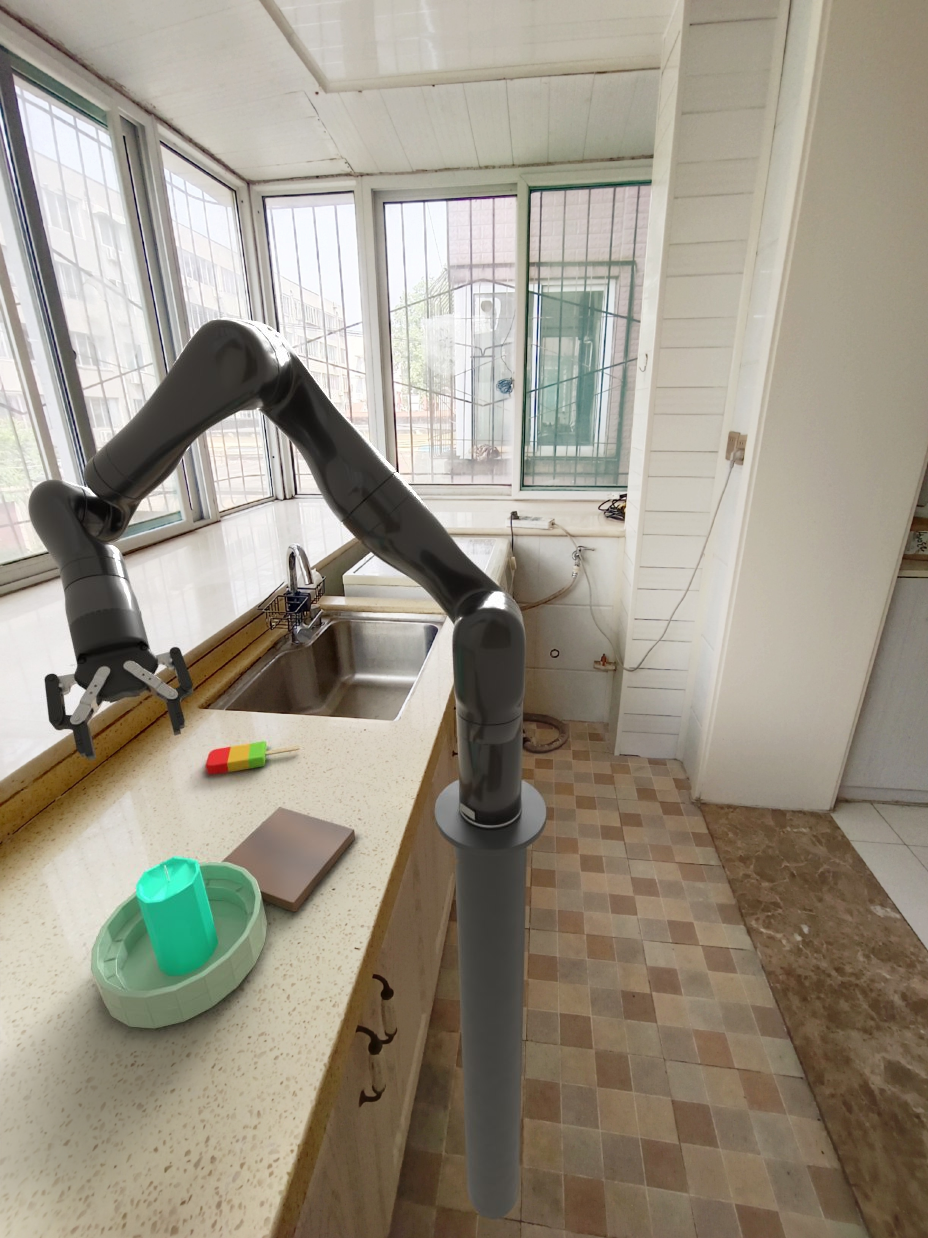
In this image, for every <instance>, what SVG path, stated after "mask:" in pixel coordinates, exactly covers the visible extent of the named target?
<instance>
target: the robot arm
mask: <svg viewBox="0 0 928 1238" xmlns="http://www.w3.org/2000/svg"><path fill="white" fill-rule="evenodd" d="M256 410H257V411H259V412H260V413H261V414H262V415H263V416H265V417H266V418H267V419H268V420H269V421H270V422H271V423H272V424H273V425H274V426H275V427H276V428H277V429H278V430H279V431H280V432H281V433H282V434H283V435H284V436H285V437H286V438H287V439H288V440H289V441H290V442H291V443H292V444H293V446H295V448H296V449H297V450H298V452H299V454H300V455H301V456H302V458H303V460H304V461H305V464H306V466H307V467H308V469H309V471H310V473H311V475H312V478H313V479H314V482H315V484H316V486H317V488H318V490H319V492H320V494H321V496H322V498H323V500H324V501H325V503H326V505H327V507H328V508H329V510H330V511H331V512H332V514H333V515H334V516H335V517H336V519H337V520H338V521H339V522H340V523H342V525H343V526H344V527H345V528H346V529H347V531H349V532H350V533H351V535H353V537H354V538H355V539H356V540H357V541H358V542H359V543H360V544H361V545H362V546H363V547H364V548H365V549H366V550H368V551H369V552H370V553H371V554H372V555H373V556H375V557H376V558H378V560H380V561H382V562H383V563H385V564H386V565H388V566H389V567H391V568H393V569H394V570H396V571H397V572H399V573H401V574H403V575H404V576H406V577H408V578H409V579H410V580H412V581H413V582H415V583H417V584H418V585H419V586H420V587H421V588H422V589H423V590H425V591H426V593H428V594H429V595H430V597H431V598H432V599H433V600H434V601H435V602H436V603H437V605H438V606H439V607H440V609H441V610H442V611H443V612H444V613H445V615H446V616H447V617H448V619H449V620H450V621H451V623H452V624H453V631H452V639H451V641H452V642H451V644H452V645H451V649H452V651H451V652H452V674H453V675H452V676H453V694H454V698H455V712H456V740H457V742H456V744H457V772H458V780H459V813H460V815H461V817H462V818H463V819H464V821H466V822H467V823H468V824H470V825H471V826H473V827H476V828H479V829H484V830H498V829H503V828H506V827H508V826H510V825H512V824H513V823H515V822H516V821H517V820H518V819H519V817H520V815H521V812H522V802H521V792H522V780H523V739H524V738H523V737H524V736H523V735H524V734H523V733H524V730H523V729H524V698H525V693H526V663H527V662H526V661H527V659H526V658H527V635H526V629H525V623H524V617H523V613H522V610H521V609H520V607H519V604H518V603H517V601H515V599H514V598H513V597H512V596H511V595H510V594H509V593H508V592H507V591H506V590H505V589H504V588H502V587H501V586H499V584H497V583H496V581H494V580H493V579H492V578H491V577H489V575H488V574H487V573H486V572H484V571H483V570H482V569H481V568H480V567H479V566H478V565H477V564H476V563H475V562H474V561H472V559H471V558H469V557H468V556H467V554H465V552H464V551H463V550H462V548H460V546H459V545H458V544H457V542H455V540H454V539H453V537H452V536H451V534H450V533H449V532H448V531H447V529H446V528H445V527H444V525H443V524H442V523H441V522H440V521H439V519H438V518H437V517H436V516H435V514H434V513H433V512H432V511H431V509H430V508H429V507H428V506H427V504H425V502H424V501H423V499H422V498H421V497H420V496H419V495H418V494H417V493H416V491H415V490H414V489H413V488H412V487H411V485H410V484H409V483H408V482H407V481H406V480H405V479H404V478H403V477H402V475H401V474H400V473H399V472H397V470H396V469H395V468H394V466H392V465H391V464H390V463H389V462H388V461H387V460H386V458H384V456H383V455H382V454H381V453H380V452H379V451H378V450H377V449H376V447H375V446H373V444H372V443H371V442H370V441H369V440H368V439H367V437H365V435H363V433H362V432H361V431H359V429H358V428H357V427H356V426H354V424H353V423H352V422H351V421H350V420H349V419H348V418H347V417H346V416H345V415H344V414H343V413H342V412H341V411H340V409H338V407H337V406H336V405H335V404H334V402H333V401H332V399H330V396H328V395H327V393H326V392H325V391H324V390H323V388H322V387H321V385H320V384H319V383H318V381H317V380H316V378H315V377H314V376H313V374H312V373H311V372H310V370H309V369H308V368H307V366H306V364H305V363H304V362H303V361H302V359H301V358H300V357H299V355H298V354H297V352H296V351H295V350H294V348H293V347H292V346H291V344H290V343H289V342H288V341H287V340H286V339H285V337H284V336H282V334H281V333H280V332H277V330H275V329H274V328H272V327H271V326H269V325H267V324H264V323H262V322H260V321H255V320H248V319H239V318H235V317H234V318H233V317H221V318H214V319H211V320H209V321H207V322H205V323H203V324H202V325H201V326H200V327H199V328H198V329H197V330H196V331H195V332H194V333H193V334H192V336H191V337H190V339H188V341H187V343H186V344H185V346H184V348H183V349H182V350H181V352H180V354H178V357H177V358H176V360H175V361H174V363H173V364H172V366H171V367H170V370H168V373H166V375H165V377H164V378H163V379H162V381H161V382H160V384H158V386H157V387H156V389H155V390H154V392H153V393H152V395H151V396H150V397H149V398H148V400H147V401H146V403H144V405H143V406H142V407H141V408H140V409H139V410H138V412H137V413H136V414H135V415H134V416H133V417H132V418H131V419H130V421H129V422H127V423H126V425H125V426H124V427H122V428H121V429H120V430H119V431H118V432H117V433H116V434H115V435H114V436H113V437H112V438H111V439H110V440H108V442H106V443H105V444H104V445H103V446H102V447H101V448H100V449H99V450H98V451H97V452H96V453H95V454H94V455H93V456H92V457H91V458H90V459H89V460H88V461H87V462H86V464H85V466H84V468H83V473H82V476H83V480H84V483H85V484H86V486H87V487H86V486H83V485H80V484H76V483H74V482H70V481H66V480H63V479H53V478H52V479H47V480H43V481H42V482H40V483H38V484H37V485H36V486H35V487H34V488H33V489H32V491H31V492H30V495H29V498H28V502H27V503H28V506H27V509H28V516H29V520H30V522H31V525H32V528H33V529H34V531H35V533H36V534H37V536H38V538H39V540H40V541H41V543H42V545H43V546H44V548H45V549H46V551H47V552H48V554H49V556H50V557H51V559H52V560H53V561H54V563H55V564H56V566H57V568H58V571H59V576H60V580H61V584H62V589H63V593H64V606H65V607H64V611H65V616H66V620H67V624H68V629H69V634H70V639H71V643H72V649H73V652H74V656H75V661H76V669H75V670H74V673H69V674H64V675H58V674H56V673H48V674H46V675H45V677H44V689H45V699H46V704H47V705H46V707H47V716H48V722H49V723H50V725H51V726H52V727H53V728H54V730H56V731H63V730H70V731H72V733H73V737H74V738H73V739H74V743H75V747H76V748H75V749H76V751H77V753H78V754H79V755H80V756H81V757H82V758H84V757H86V759H87V760H88V761H93V760H96V759H97V754H96V748H95V745H94V741H93V735H92V730H91V727H90V726H89V724H90V723H91V721H92V719H93V717H94V716H95V714H97V713H98V711H99V710H100V708H101V707H102V705H103V703H104V702H106V703H110V704H113V703H116V702H119V701H121V700H123V699H126V698H136V697H140V696H141V694H143V693H145V692H146V693H148V694H150V695H151V696H153V697H155V698H158V699H159V700H161V701H162V702H164V703H165V704H166V709H167V712H168V716H169V720H170V724H171V728H172V731H173V735H174V736H178V735H181V734H182V731H181V730H182V729H185V727H186V720H185V715H184V712H183V709H182V705H181V702H182V701H183V700H184V699H187V698H190V697H192V696H193V695H194V683H193V680H192V678H191V674H190V672H189V669H188V667H187V664H186V661H185V659H184V656H183V653H182V651H181V650H182V649H181V648H180V647H178V646H173V647H171V648H170V649H169V651H168V652H164V653H160V654H155V653H153V651H152V650H151V647H150V642H149V639H148V635H147V631H146V629H145V628H146V627H145V623H144V621H143V616H142V611H141V610H140V605H139V601H138V599H137V596H136V594H135V592H134V590H133V586H132V585H131V584H132V583H131V581H130V576H129V572H128V569H127V566H126V561H125V559H124V556H123V554H122V552H121V551H120V550H119V549H118V548H117V547H116V546H114V545H112V544H111V543H114V542H116V541H117V540H119V539H121V538H122V537H123V536H124V534H125V533H126V531H127V529H128V527H129V525H130V522H131V521H132V519H133V517H134V515H135V513H136V512H137V510H138V508H139V506H140V505H141V503H142V501H143V500H145V498H147V497H148V496H149V495H150V494H151V493H153V492H154V491H155V490H156V489H157V488H158V487H159V486H160V485H162V484H163V483H164V482H165V481H166V480H167V479H168V478H169V477H170V476H171V475H172V474H173V473H174V472H175V470H177V468H178V467H179V465H180V463H181V462H182V460H183V458H184V456H185V455H186V453H187V451H188V449H190V447H191V445H192V444H193V443H194V442H195V441H196V440H197V439H198V438H199V437H200V436H202V434H204V433H205V432H206V431H208V430H210V429H211V428H212V427H213V426H215V425H217V424H218V423H220V422H222V421H223V420H226V419H227V418H229V417H231V416H234V415H235V414H237V413H239V412H249V411H256ZM160 665H161V666H162V665H163V666H164V667H165V668H166V669H167V670H168V671H174V673H175V677H176V679H177V682H178V685H179V686H177V687H176V688H173V687H172V686H170V685H168V684H167V683H165V682H164V681H163V680H162V679H161V678H159V677H158V676H157V675H155V674H156V672H157V670H158V668H159V666H160ZM75 685H78V687H80V688H82V689H83V690H85V691H84V692H83V694H82V696H81V697H80V700H79V702H78V704H77V707H76V708H75V709H74V711H73V713H72V714H67V712H66V703H65V696H67V695H69V694H70V692H71V690H72V689H71V688H72V687H73V686H75Z"/></svg>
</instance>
